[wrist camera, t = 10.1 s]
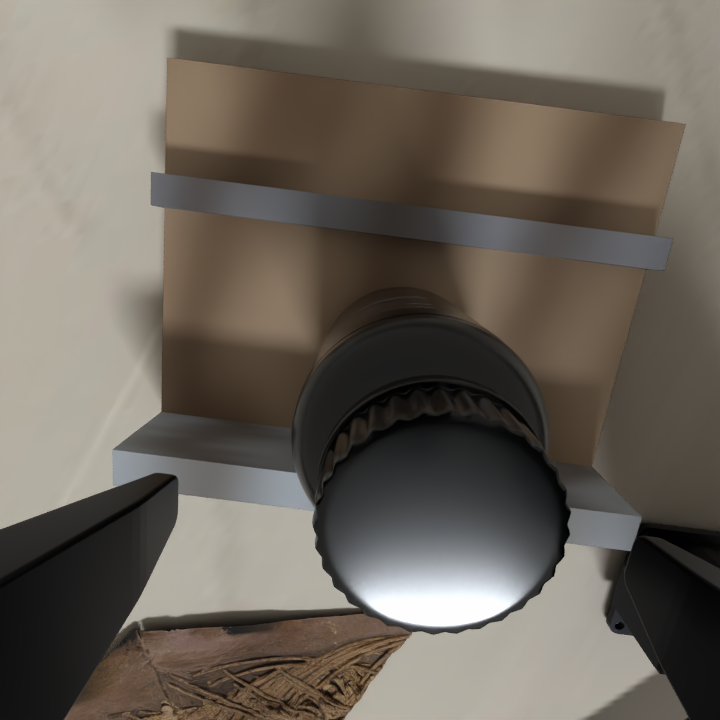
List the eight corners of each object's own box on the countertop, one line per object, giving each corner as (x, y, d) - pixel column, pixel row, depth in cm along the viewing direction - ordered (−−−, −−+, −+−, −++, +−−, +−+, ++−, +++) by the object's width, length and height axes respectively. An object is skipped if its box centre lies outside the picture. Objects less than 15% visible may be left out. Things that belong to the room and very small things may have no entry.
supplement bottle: (306, 413, 20) (216, 631, 9) (344, 266, 19) (296, 294, 7) (450, 452, 21) (548, 714, 9) (500, 310, 19) (699, 406, 7)
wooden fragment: (76, 794, 29) (65, 814, 28) (-12, 666, 27) (-28, 682, 26) (454, 697, 27) (458, 715, 26) (394, 544, 24) (395, 557, 23)
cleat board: (661, 133, 19) (777, 87, 13) (570, 479, 22) (631, 551, 17) (183, 72, 19) (106, 1, 13) (174, 429, 22) (112, 485, 17)
